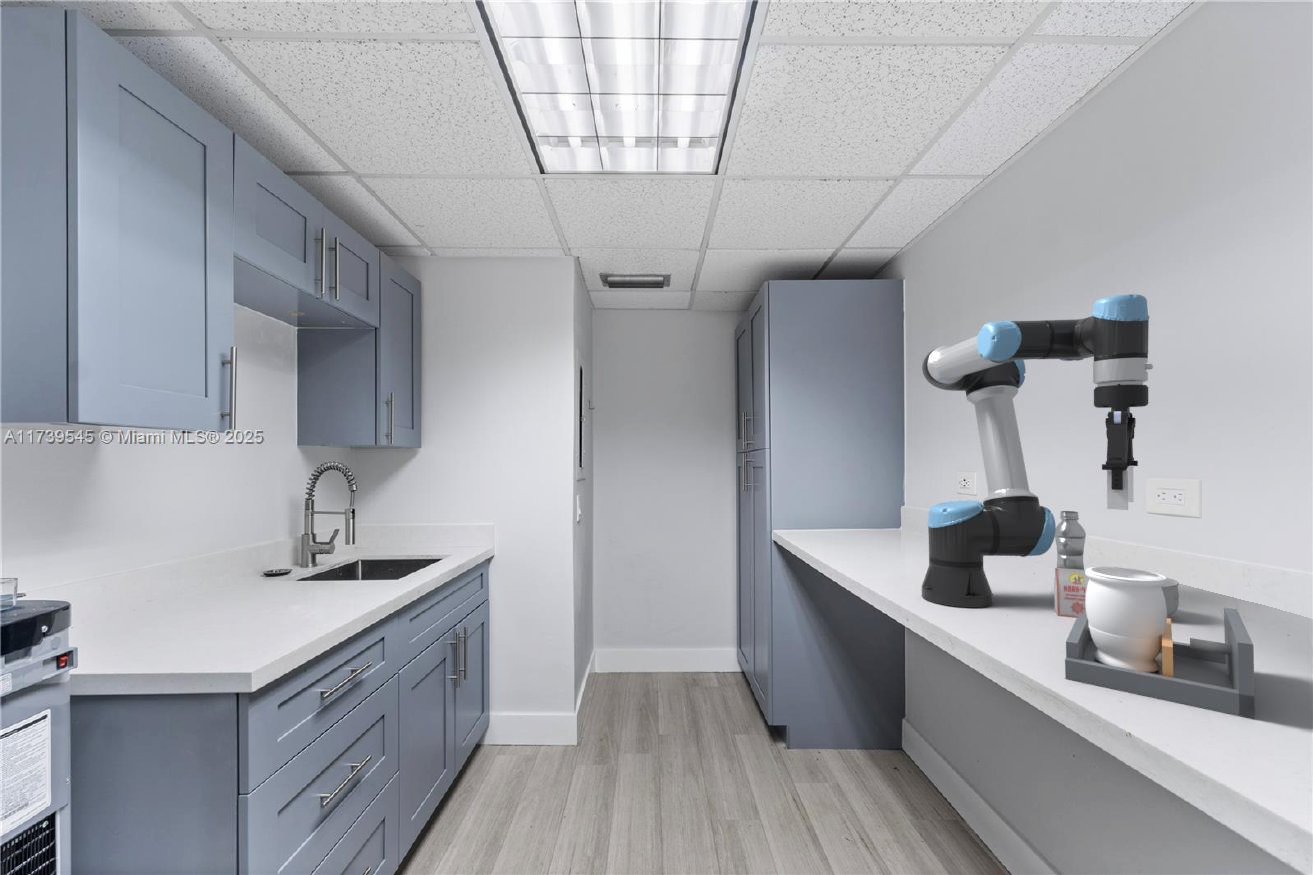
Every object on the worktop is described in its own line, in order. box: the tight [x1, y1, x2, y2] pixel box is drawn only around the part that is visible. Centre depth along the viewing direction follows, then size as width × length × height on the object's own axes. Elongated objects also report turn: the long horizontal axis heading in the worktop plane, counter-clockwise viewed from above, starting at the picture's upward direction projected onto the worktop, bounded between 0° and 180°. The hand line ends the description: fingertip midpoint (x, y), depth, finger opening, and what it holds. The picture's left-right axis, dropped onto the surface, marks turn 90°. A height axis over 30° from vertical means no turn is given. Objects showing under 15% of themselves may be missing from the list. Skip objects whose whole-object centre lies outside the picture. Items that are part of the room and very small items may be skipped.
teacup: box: [1161, 577, 1180, 618], centre depth 126 cm, size 14×11×8 cm
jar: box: [1084, 566, 1167, 673], centre depth 95 cm, size 11×10×15 cm
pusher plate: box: [1162, 617, 1173, 678], centre depth 92 cm, size 1×18×6 cm, turn 139°
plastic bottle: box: [1054, 510, 1087, 581], centre depth 145 cm, size 6×7×20 cm
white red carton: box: [1053, 567, 1089, 619], centre depth 125 cm, size 4×7×10 cm, turn 63°
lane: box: [1064, 606, 1256, 720], centre depth 93 cm, size 21×22×10 cm
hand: (1120, 505), depth 102 cm, fingers open, 13 cm apart
